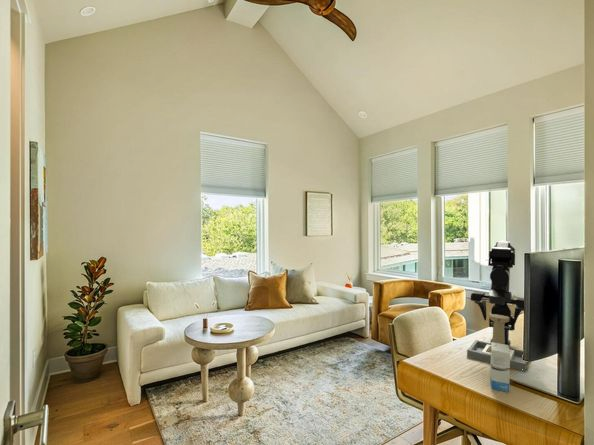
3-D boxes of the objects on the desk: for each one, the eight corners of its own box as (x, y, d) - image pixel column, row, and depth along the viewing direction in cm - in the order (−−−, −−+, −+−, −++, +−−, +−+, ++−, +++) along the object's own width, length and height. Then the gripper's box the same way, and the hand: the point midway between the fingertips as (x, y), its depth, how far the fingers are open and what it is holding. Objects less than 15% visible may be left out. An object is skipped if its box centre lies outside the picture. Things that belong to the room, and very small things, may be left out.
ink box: (509, 393, 99) (510, 353, 99) (490, 388, 102) (491, 350, 101) (507, 381, 107) (508, 344, 106) (489, 377, 109) (490, 341, 109)
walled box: (475, 346, 136) (475, 339, 136) (529, 358, 125) (529, 351, 125) (467, 356, 125) (467, 349, 125) (524, 371, 114) (525, 363, 114)
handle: (508, 360, 121) (509, 319, 121) (487, 356, 125) (489, 316, 125) (508, 356, 126) (509, 316, 125) (488, 352, 129) (489, 313, 129)
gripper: (467, 280, 125) (466, 322, 125) (528, 288, 113) (527, 334, 113) (474, 276, 133) (473, 316, 134) (531, 283, 122) (530, 326, 122)
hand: (499, 322), depth 125 cm, fingers open, 9 cm apart
